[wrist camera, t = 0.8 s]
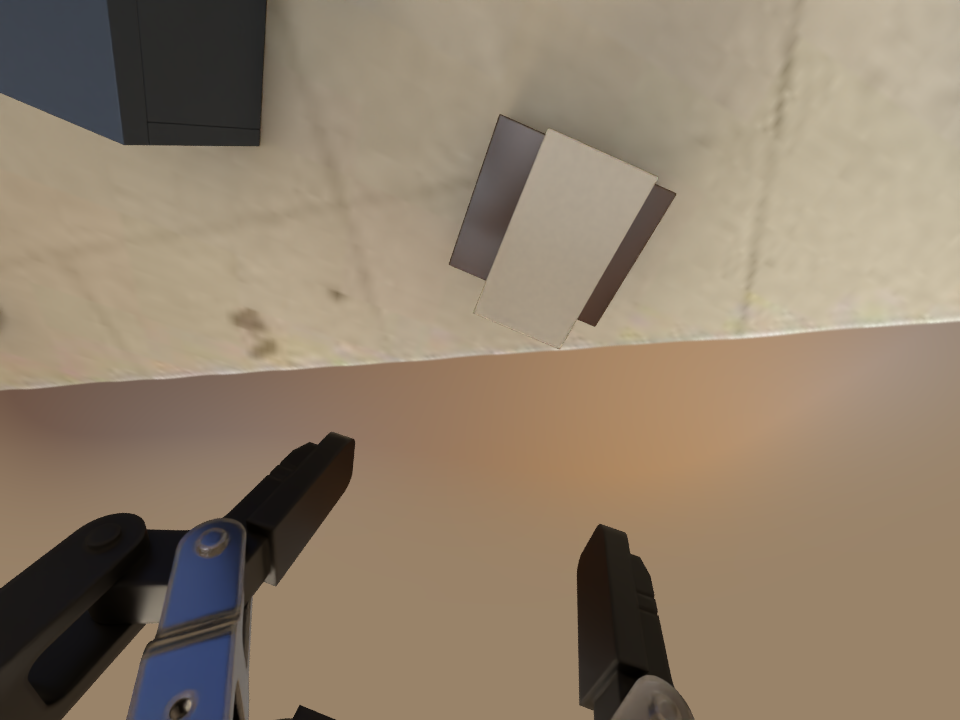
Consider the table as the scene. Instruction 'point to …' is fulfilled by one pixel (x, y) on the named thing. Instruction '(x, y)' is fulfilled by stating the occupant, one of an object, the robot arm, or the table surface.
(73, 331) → the table surface
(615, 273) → the low shelf
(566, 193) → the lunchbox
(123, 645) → the robot arm
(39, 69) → the blue box
